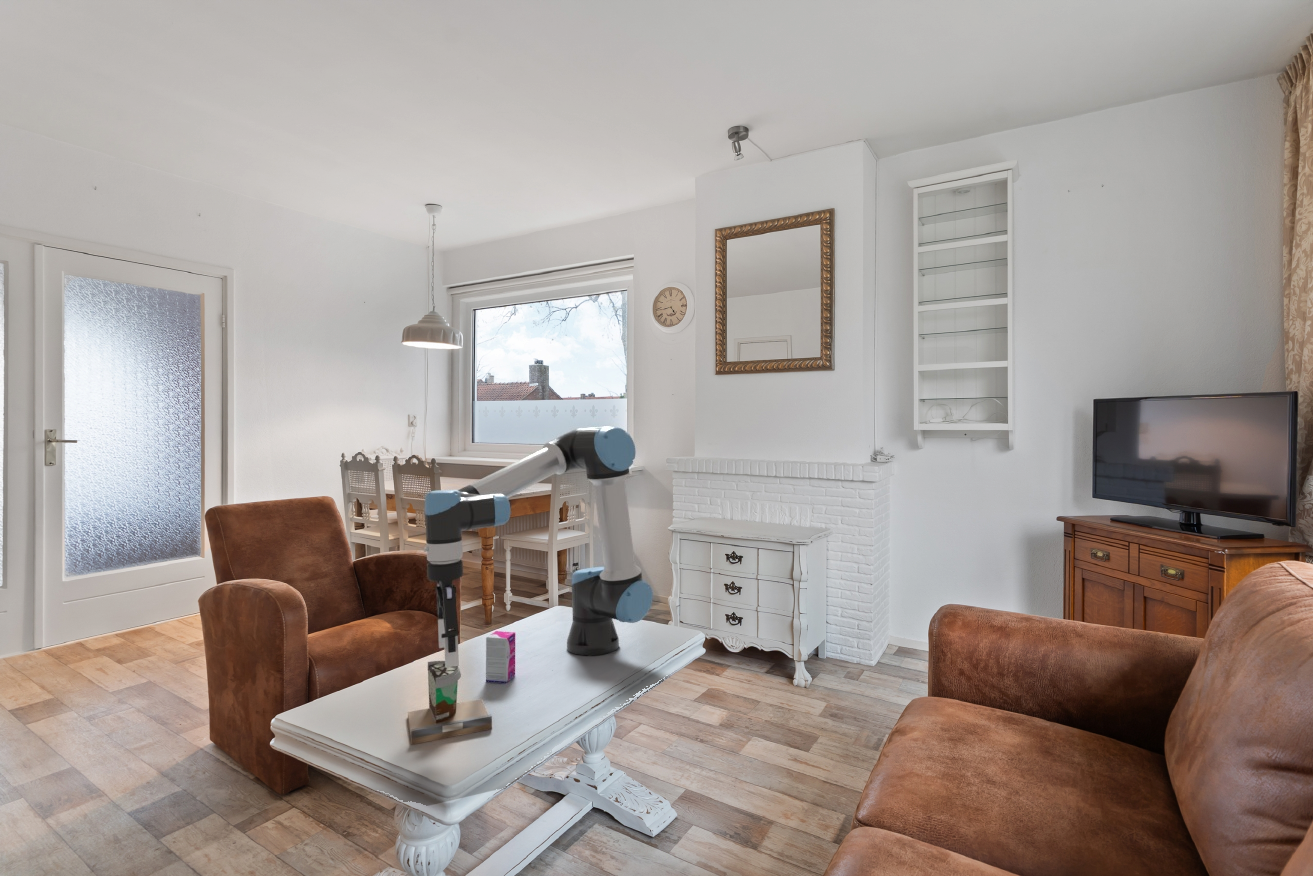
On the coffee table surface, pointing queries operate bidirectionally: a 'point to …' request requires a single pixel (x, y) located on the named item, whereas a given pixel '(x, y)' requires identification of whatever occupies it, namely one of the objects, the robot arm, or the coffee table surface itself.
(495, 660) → the supplement box
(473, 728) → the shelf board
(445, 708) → the food container
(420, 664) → the coffee table surface
